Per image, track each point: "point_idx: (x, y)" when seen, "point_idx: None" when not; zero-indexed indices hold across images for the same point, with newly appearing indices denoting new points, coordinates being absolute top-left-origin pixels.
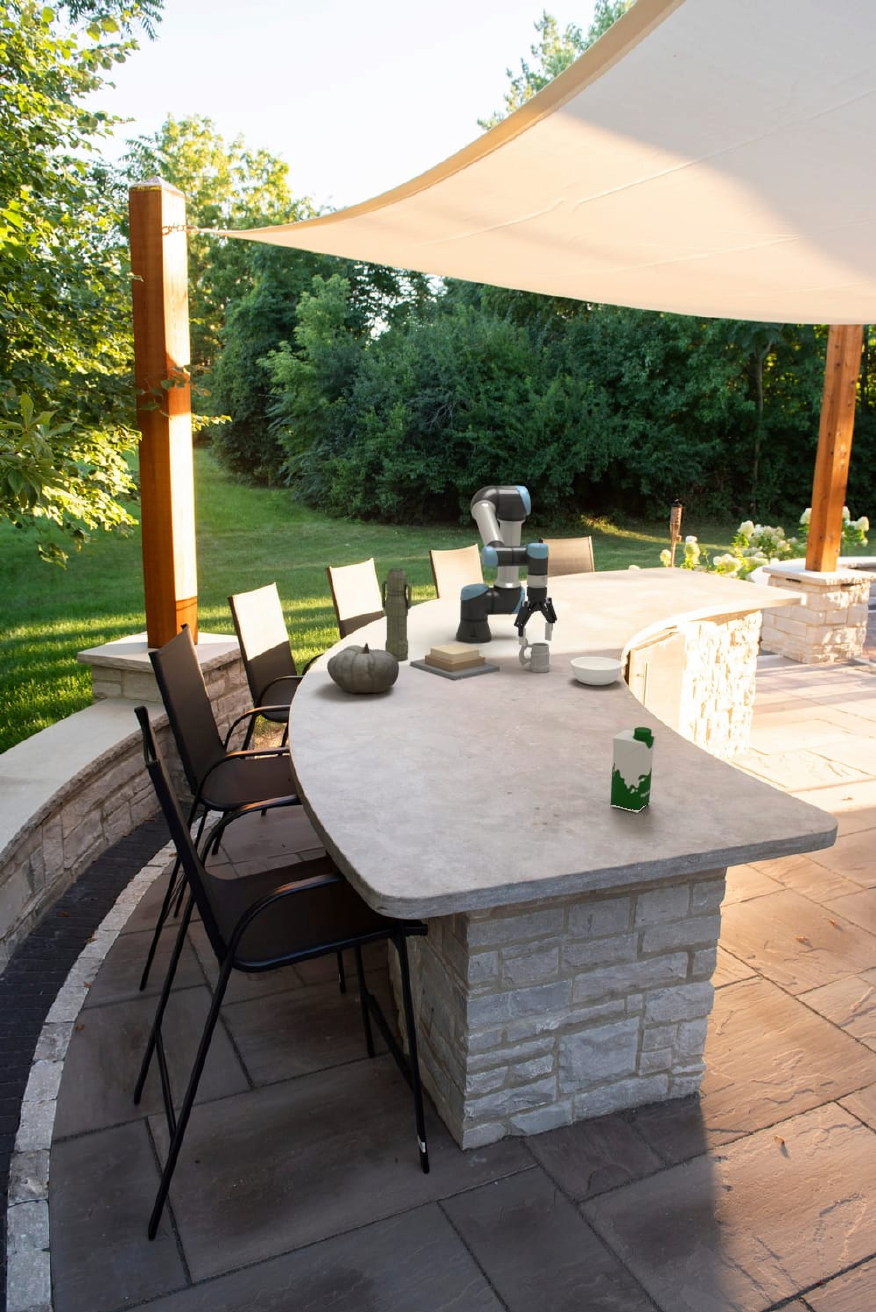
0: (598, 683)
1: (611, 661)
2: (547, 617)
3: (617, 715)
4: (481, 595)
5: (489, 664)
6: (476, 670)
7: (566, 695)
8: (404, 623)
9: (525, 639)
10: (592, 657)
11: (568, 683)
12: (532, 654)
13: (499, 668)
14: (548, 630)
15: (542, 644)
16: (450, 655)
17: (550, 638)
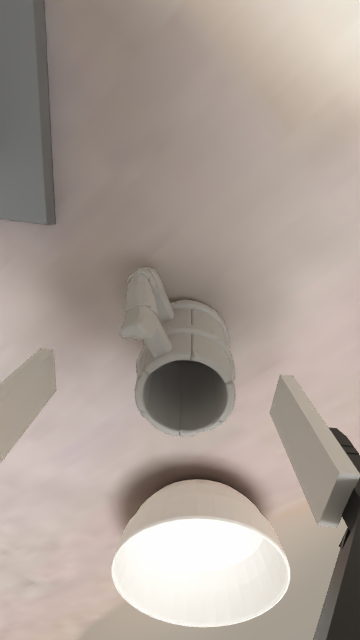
0: (157, 546)
1: (280, 575)
2: (330, 591)
3: (33, 618)
4: None
5: (29, 156)
6: None
7: (42, 517)
8: None
9: (35, 416)
10: (267, 539)
11: (131, 473)
12: (137, 360)
13: (49, 223)
14: (297, 450)
15: (224, 381)
16: None
17: (277, 423)
